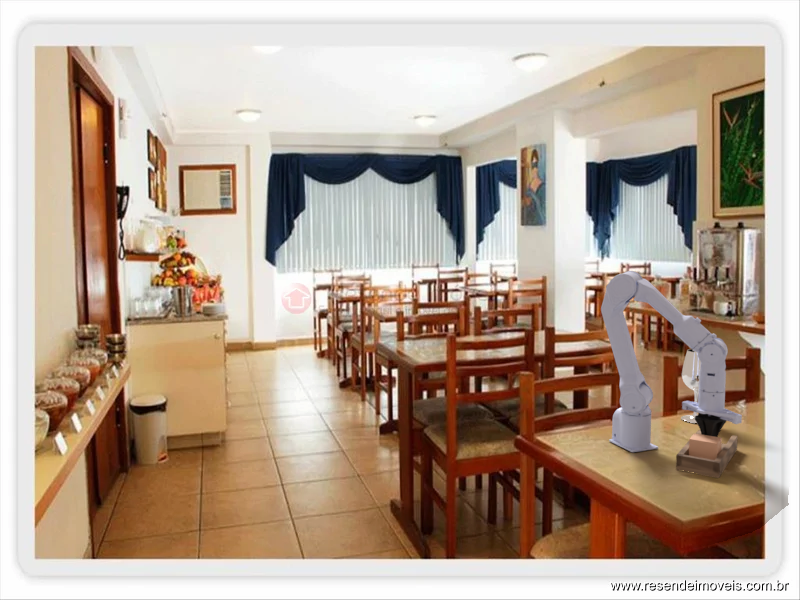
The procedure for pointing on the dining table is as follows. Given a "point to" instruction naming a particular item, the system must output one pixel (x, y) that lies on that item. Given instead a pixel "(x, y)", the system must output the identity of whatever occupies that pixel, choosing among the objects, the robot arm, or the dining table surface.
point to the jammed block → (704, 446)
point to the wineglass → (691, 378)
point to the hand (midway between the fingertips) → (709, 445)
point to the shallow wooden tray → (707, 465)
